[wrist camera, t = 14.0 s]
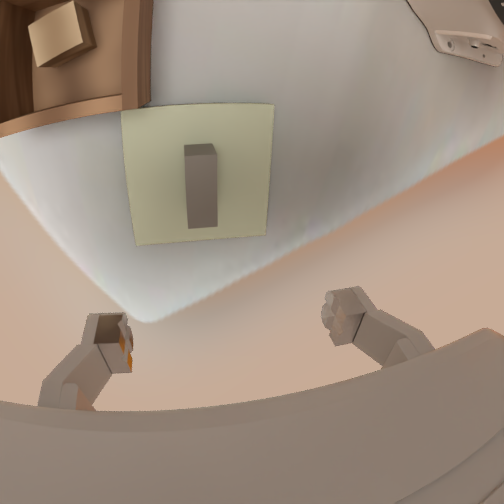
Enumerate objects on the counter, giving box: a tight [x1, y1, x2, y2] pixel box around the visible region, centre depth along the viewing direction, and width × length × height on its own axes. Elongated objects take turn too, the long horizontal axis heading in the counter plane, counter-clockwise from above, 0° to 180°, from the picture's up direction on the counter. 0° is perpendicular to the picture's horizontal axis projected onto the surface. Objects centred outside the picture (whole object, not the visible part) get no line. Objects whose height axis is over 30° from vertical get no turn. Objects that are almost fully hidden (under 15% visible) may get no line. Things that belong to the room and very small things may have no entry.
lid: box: [121, 103, 274, 246], centre depth 25 cm, size 13×13×6 cm
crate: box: [0, 0, 153, 138], centre depth 14 cm, size 12×12×8 cm
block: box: [28, 1, 97, 68], centre depth 14 cm, size 4×4×4 cm
